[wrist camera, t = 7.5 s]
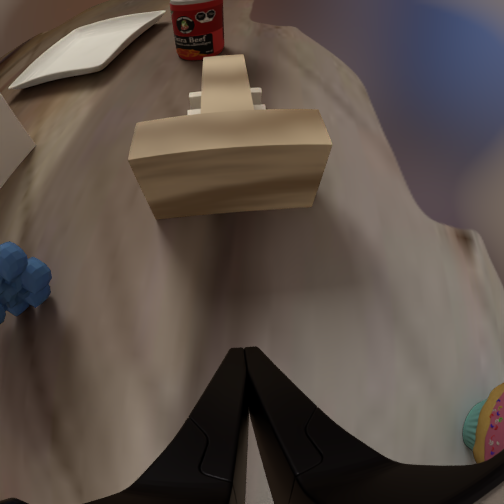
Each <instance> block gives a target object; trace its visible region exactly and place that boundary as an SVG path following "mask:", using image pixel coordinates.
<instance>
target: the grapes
mask: <svg viewBox="0 0 504 504" xmlns="http://www.w3.org/2000/svg"><path fill="white" fill-rule="evenodd" d="M51 278H52V276H51V270H50V269H49V268H48V267H47V265H46V264H45V263H43V262H42V261H40V260H39V259H37V258H35V257H31V258H29V259H27V255H26V254H25V253H24V251H23V250H22V249H21V248H20V247H19V246H17V245H16V244H14V243H12V242H10V241H9V242H5V243H3V244H0V324H1V323H2V322H3V321H4V319H5V315H6V314H5V311H6V310H7V311H9V312H10V313H12V314H13V315H15V316H16V317H17V316H18V315H20V314H21V313H22V312H24V311H25V310H26V309H27V308H28V307H29V304H30V305H32V306H33V307H35V308H36V307H37V306H39V305H40V304H42V303H43V302H44V301H45V300H46V299H47V298H48V297H49V295H50V292H51V291H50V286H49V282H50V280H51Z"/></svg>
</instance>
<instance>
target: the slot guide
mask: <svg viewBox="0 0 504 504" xmlns="http://www.w3.org/2000/svg"><path fill="white" fill-rule="evenodd" d="M250 90H251V96H252V101H253V106H254V110H265V109H266V108H265V104H262V105H261V99H262V91H261V88H250ZM189 100H190V106H191V110H188V115H194V114H201V92H192V93H189Z"/></svg>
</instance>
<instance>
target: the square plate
mask: <svg viewBox="0 0 504 504" xmlns="http://www.w3.org/2000/svg"><path fill="white" fill-rule="evenodd" d="M165 12H166V11H165V10H163V11H155V12H147V13H139V14H132V15H126V16H121V17H116V18H111V19H107V20H103V21H99V22H96V23H92V24H89V25H86V26H83V27H80V28H77V29H75V30H73V31H72V32H71V33H69V34H68V35H66V36H65V37H64V38H62V39H61V40H60V41H58V42H57V43H56V44H54V45H53V46H52V47H50V48H49V49H48V50H47V51H45V52H44V53H43V54H42V55H41V56H40V57H38V58H37V59H36V60H35V61H34V62H33V63H32V64H31V65H30V66H29V67H28V68H27V69H26V70H25V71H24V72H23V73H22V74H21V75H20V76H19V77H18V78H17V79H16V80H15V81H14V82H13V83H12V84H11V86H10V87H9V89H23V88H27V87H31V86H35V85H38V84H41V83H45V82H49V81H53V80H57V79H62V78H67V77H72V76H78V75H83V74H89V73H94V72H98V71H101V70H102V69H104V68H105V67H106V66H107V65H108V64H109V63H110V62H111V61H112V60H113V59H114V58H115V57H116V56H117V55H118V54H119V53H121V52H122V51H123V50H124V49H125V48H126V47H127V46H128V45H129V44H130V43H132V42H133V41H134V40H135V39H136V38H137V37H138V36H140V35H141V34H142V33H143V32H144V31H146V30H147V29H148V28H150V27H151V26H152V25H154V24H155V23H156V22H157V21H158V20H159V19H160V18H161V17H162V16H163V14H164V13H165Z"/></svg>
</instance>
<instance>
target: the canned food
mask: <svg viewBox="0 0 504 504" xmlns="http://www.w3.org/2000/svg"><path fill="white" fill-rule="evenodd" d="M170 9H171V16H172V23H173V30H174V37H175V44H176V50H177V53H178V55H179V57H180V58H182V59H185V60H203V57H211V56H216V55H218V54H219V53H221V52H222V50H223V47H224V22H223V0H170Z"/></svg>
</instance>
